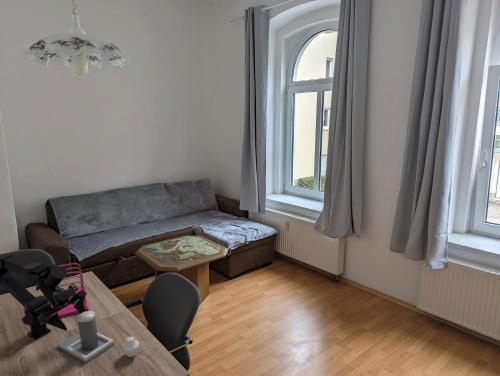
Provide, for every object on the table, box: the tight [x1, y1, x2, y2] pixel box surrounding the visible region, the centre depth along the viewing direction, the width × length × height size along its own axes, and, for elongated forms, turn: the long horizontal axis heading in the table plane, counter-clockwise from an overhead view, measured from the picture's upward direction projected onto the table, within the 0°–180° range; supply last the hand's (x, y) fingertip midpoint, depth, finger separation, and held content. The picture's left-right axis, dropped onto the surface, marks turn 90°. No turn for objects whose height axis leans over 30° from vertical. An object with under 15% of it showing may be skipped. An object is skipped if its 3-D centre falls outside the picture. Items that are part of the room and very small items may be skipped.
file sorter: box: [42, 262, 90, 319], centre depth 167 cm, size 17×25×16 cm
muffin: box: [121, 336, 140, 358], centre depth 131 cm, size 6×6×7 cm
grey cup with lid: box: [77, 310, 99, 351], centre depth 134 cm, size 6×6×13 cm
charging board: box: [56, 332, 115, 364], centre depth 137 cm, size 18×12×2 cm, turn 59°
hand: (76, 323), depth 135 cm, fingers open, 9 cm apart
